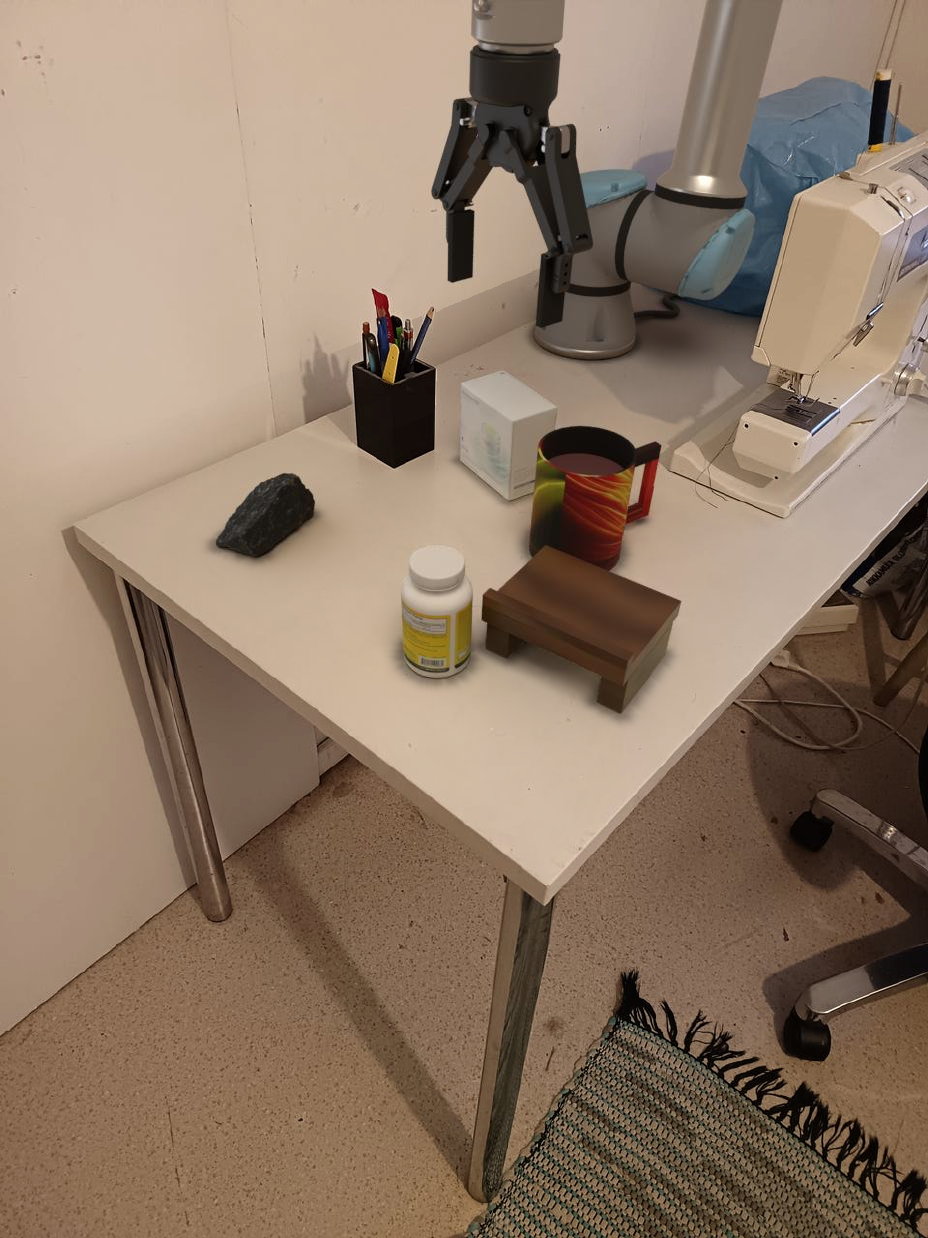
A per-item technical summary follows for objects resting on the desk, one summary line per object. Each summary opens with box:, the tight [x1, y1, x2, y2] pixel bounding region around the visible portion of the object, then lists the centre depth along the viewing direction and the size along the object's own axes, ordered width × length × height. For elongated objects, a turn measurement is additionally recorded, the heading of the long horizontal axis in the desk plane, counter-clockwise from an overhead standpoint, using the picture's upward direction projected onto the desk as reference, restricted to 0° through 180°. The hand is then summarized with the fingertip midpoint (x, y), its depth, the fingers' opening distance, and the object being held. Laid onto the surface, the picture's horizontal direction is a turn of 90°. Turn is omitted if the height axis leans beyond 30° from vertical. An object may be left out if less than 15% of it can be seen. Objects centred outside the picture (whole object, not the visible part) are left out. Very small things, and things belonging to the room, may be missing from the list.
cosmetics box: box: [459, 369, 558, 502], centre depth 100 cm, size 10×6×10 cm, turn 33°
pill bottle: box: [400, 544, 474, 679], centre depth 76 cm, size 6×6×11 cm
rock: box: [215, 472, 316, 557], centre depth 92 cm, size 7×10×6 cm
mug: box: [528, 425, 662, 571], centre depth 90 cm, size 10×14×12 cm
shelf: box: [480, 545, 682, 715], centre depth 79 cm, size 11×14×7 cm
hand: (502, 300), depth 86 cm, fingers open, 13 cm apart
